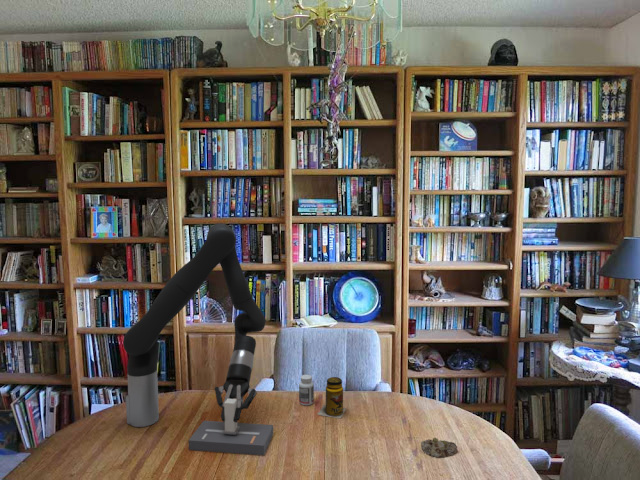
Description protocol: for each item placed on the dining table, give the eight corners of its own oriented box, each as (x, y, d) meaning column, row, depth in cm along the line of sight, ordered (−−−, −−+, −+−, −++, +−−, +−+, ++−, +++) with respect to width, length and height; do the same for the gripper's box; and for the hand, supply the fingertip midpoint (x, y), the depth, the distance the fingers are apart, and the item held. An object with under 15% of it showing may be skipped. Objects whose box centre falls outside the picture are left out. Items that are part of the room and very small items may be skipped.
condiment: (341, 418, 157) (341, 384, 156) (317, 415, 160) (317, 381, 158) (346, 409, 164) (346, 376, 163) (323, 405, 167) (323, 373, 165)
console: (188, 449, 138) (188, 439, 138) (203, 429, 150) (203, 420, 150) (264, 455, 136) (263, 445, 135) (273, 434, 147) (273, 424, 147)
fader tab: (222, 433, 141) (222, 403, 140) (227, 427, 145) (226, 397, 144) (235, 434, 140) (234, 404, 139) (239, 427, 144) (238, 398, 143)
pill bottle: (307, 397, 173) (307, 372, 172) (316, 402, 169) (316, 377, 168) (296, 402, 170) (295, 376, 168) (305, 407, 165) (304, 381, 164)
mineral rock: (423, 451, 134) (420, 430, 141) (421, 463, 135) (418, 441, 143) (461, 454, 133) (455, 433, 140) (459, 465, 134) (454, 444, 142)
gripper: (216, 361, 149) (203, 415, 139) (259, 363, 147) (249, 418, 137) (222, 370, 155) (210, 423, 144) (263, 372, 153) (254, 426, 143)
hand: (229, 421), depth 141 cm, fingers closed on fader tab, 3 cm apart
